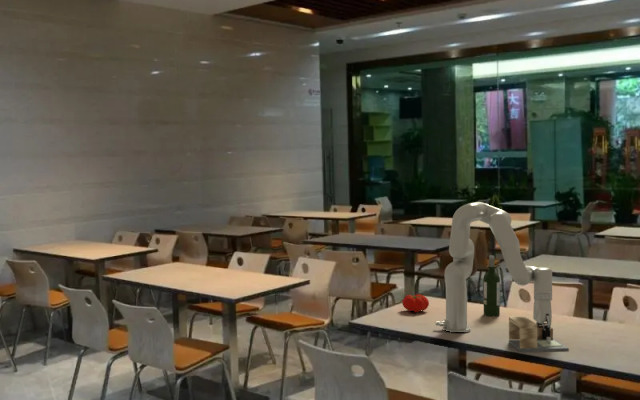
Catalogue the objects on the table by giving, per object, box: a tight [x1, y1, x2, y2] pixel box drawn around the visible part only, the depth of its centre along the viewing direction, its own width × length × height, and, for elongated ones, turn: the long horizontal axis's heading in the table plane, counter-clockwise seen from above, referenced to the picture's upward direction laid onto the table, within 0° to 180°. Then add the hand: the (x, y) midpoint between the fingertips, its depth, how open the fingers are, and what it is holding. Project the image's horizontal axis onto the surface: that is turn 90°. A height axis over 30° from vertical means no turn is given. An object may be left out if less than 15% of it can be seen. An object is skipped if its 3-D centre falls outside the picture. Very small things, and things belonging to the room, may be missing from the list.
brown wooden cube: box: [537, 325, 554, 339], centre depth 289 cm, size 6×6×6 cm
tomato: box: [401, 293, 430, 313], centre depth 346 cm, size 14×13×9 cm
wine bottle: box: [483, 255, 501, 317], centre depth 337 cm, size 8×8×30 cm
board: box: [508, 337, 570, 353], centre depth 279 cm, size 20×14×4 cm
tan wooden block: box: [508, 316, 537, 349], centre depth 278 cm, size 7×14×10 cm, turn 2°
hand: (543, 336), depth 289 cm, fingers closed on brown wooden cube, 6 cm apart
